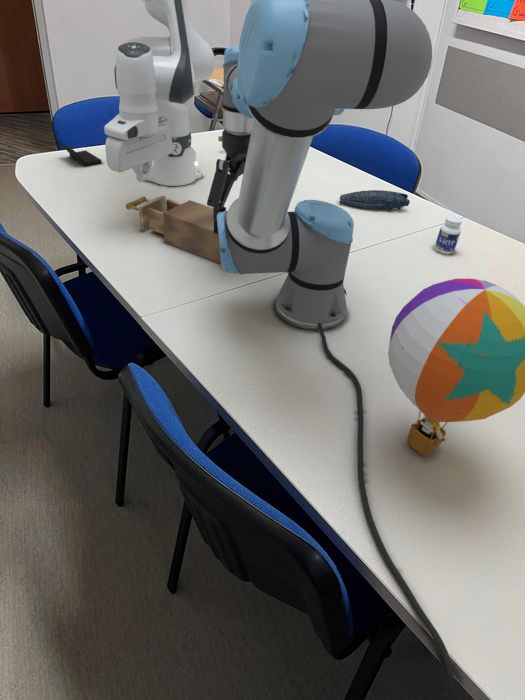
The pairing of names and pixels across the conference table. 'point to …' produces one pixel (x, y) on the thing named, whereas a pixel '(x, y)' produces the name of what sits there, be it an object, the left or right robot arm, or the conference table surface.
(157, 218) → the drawer
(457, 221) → the pill bottle
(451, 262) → the conference table surface
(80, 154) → the black handled piece
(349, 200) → the fish model
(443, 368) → the toy
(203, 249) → the cabinet
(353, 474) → the conference table surface
